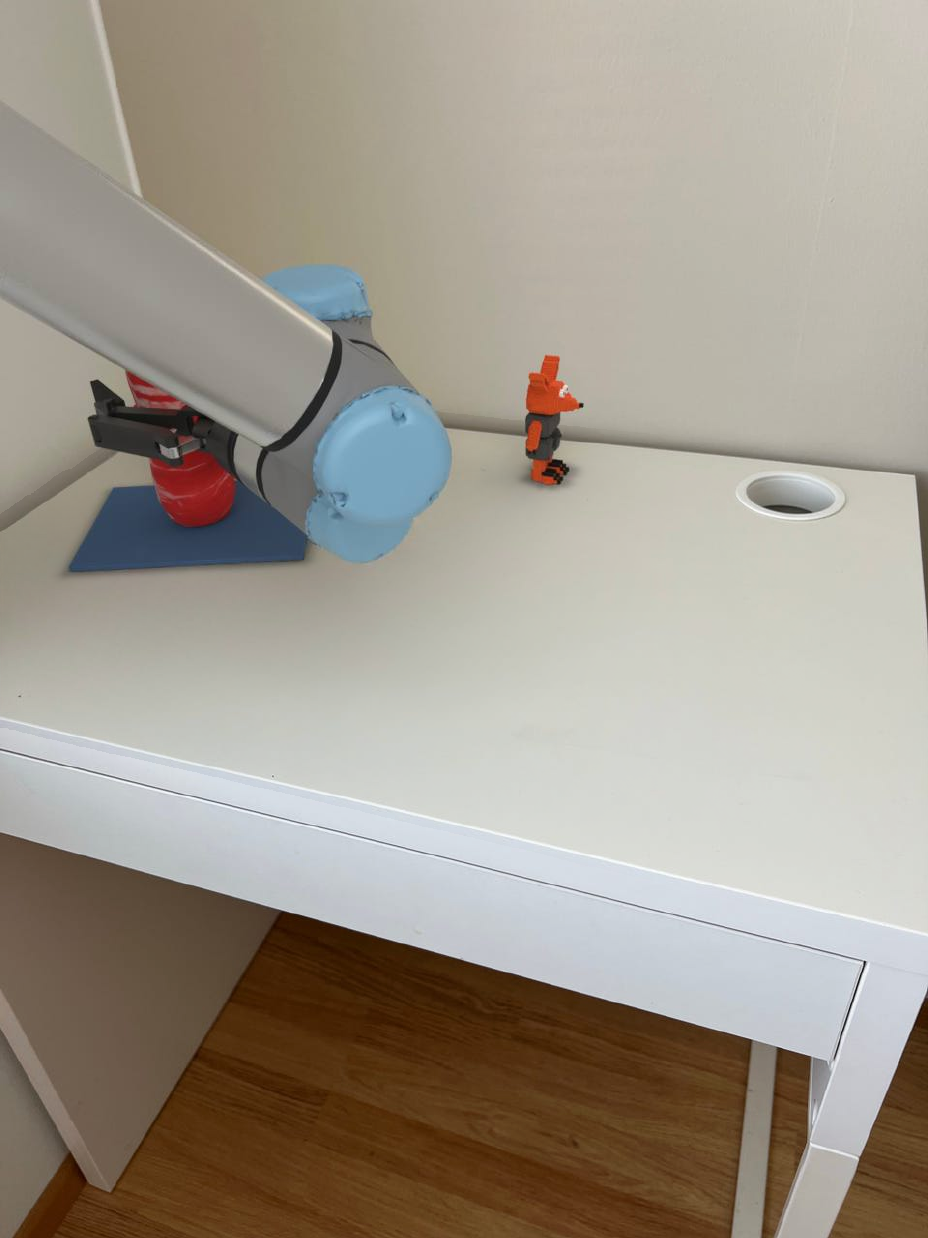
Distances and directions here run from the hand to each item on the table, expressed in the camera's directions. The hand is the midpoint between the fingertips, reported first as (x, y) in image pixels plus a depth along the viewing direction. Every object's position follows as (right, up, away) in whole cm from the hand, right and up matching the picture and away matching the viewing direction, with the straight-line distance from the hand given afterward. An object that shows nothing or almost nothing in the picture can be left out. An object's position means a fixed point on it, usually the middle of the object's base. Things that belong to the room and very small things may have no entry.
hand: (168, 374), depth 94 cm
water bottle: (+3, -13, +7) cm, 15 cm away
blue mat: (+2, -13, +7) cm, 15 cm away
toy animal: (+37, -8, +11) cm, 40 cm away
